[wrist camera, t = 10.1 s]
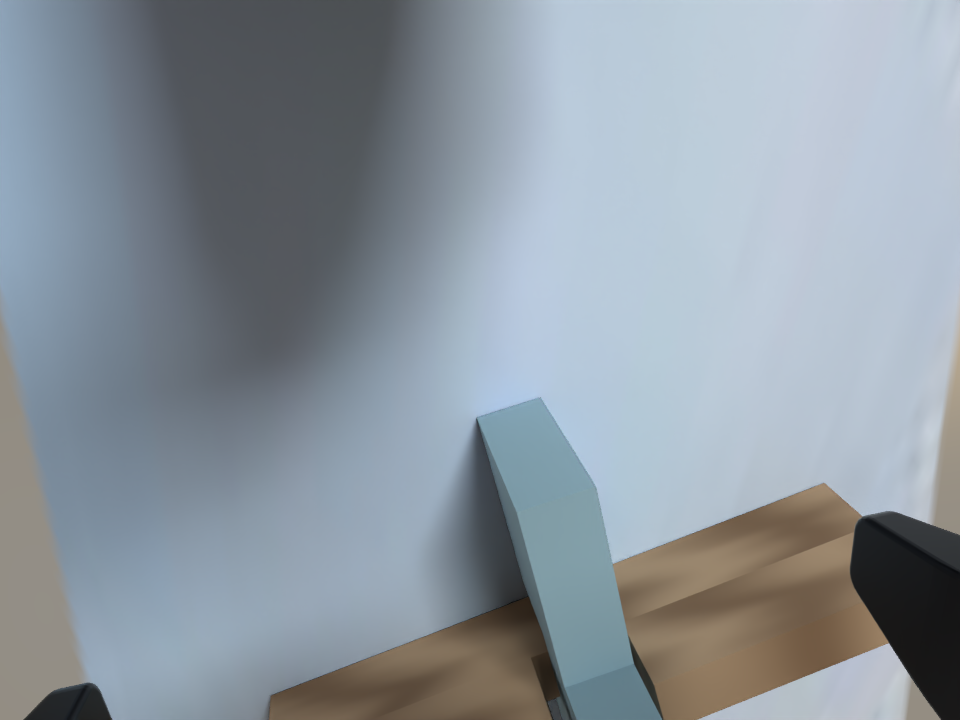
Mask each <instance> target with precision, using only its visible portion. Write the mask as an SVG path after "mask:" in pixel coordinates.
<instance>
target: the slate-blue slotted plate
mask: <svg viewBox="0 0 960 720" xmlns="http://www.w3.org/2000/svg"><path fill="white" fill-rule="evenodd" d="M477 420H478V423H479V427H480V430H481V434H482V437H483V441H484V445H485V448H486V452H487V455H488V459H489V462H490V466H491V469H492V473H493V476H494V480H495V483H496V487H497V491H498V494H499V498H500V501H501V505H502V508H503V512H504V515H505V519H506V522H507V526H508V529H509V533H510V536H511V540H512V544H513V547H514V551H515V554H516V558H517V561H518V565H519V568H520V572H521V575H522V579H523V582H524V585H525V588H526V590H527V593H528V596H529V598H530V601H531V604H532V606H533V609H534V612H535V614H536V617H537V619H538V622H539V625H540V627H541V630H542V633H543V635H544V639H545V642H546V646H547V650H548V653H549V657H550V660H551V664H552V667H553V671H554V675H555V678H556V682H557V685H558V689H559V693H560V697H557V698H556V699H557V703H558V706H559V710H560V713H561V717H562V720H662V718H661V716H660V714H659V712H658V710H657V708H656V706H655V704H654V702H653V700H652V698H651V697H650V695H649V693H648V691H647V689H646V687H645V685H644V683H643V681H642V679H641V677H640V675H639V673H638V671H637V669H636V667H635V665H634V662H633V657H632V652H631V648H630V643H629V638H628V634H627V629H626V624H625V620H624V615H623V611H622V606H621V601H620V597H619V592H618V587H617V583H616V578H615V573H614V569H613V564H612V559H611V555H610V550H609V545H608V541H607V536H606V531H605V527H604V522H603V517H602V513H601V508H600V503H599V499H598V494H597V489H596V486H595V484H594V483H593V481H592V479H591V478H590V476H589V474H588V473H587V471H586V470H585V468H584V466H583V465H582V463H581V462H580V460H579V458H578V457H577V455H576V454H575V452H574V450H573V449H572V447H571V446H570V444H569V442H568V441H567V439H566V437H565V436H564V434H563V433H562V431H561V429H560V428H559V426H558V425H557V423H556V421H555V420H554V418H553V417H552V415H551V413H550V412H549V410H548V409H547V407H546V405H545V404H544V402H543V400H542V399H541V397H540V398H537V399H534V400H531V401H528V402H524V403H521V404H518V405H515V406H512V407H509V408H505V409H502V410H499V411H496V412H493V413H490V414H487V415H483V416H480V417H477Z"/></svg>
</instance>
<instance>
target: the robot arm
mask: <svg viewBox="0 0 960 720" xmlns="http://www.w3.org/2000/svg"><path fill="white" fill-rule="evenodd" d="M850 577H851V581H852V584H853V586H854V588H855V590H856V592H857V594H858V595H859V597H860V598H861V600H862V601H863V603H864V605H865V606H866V608H867V609H868V611H869V612H870V614H871V616H872V617H873V619H874V620H875V622H876V623H877V625H878V626H879V628H880V630H881V631H882V633H883V634H884V636H885V637H886V639H887V641H888V642H889V644H890V645H891V647H892V648H893V650H894V651H895V653H896V655H897V656H898V658H899V659H900V661H901V662H902V664H903V665H904V667H905V669H906V670H907V672H908V673H909V675H910V676H911V678H912V680H913V681H914V683H915V684H916V685H917V687H918V688H919V690H920V691H921V693H922V694H923V696H924V697H925V698H926V700H927V701H928V703H929V704H930V705H931V707H932V708H933V709H934V711H935V712H936V713H937V715H938V716H939V718H940V719H941V720H960V535H958V534H955V533H952V532H950V531H947V530H944V529H941V528H938V527H936V526H933V525H930V524H927V523H925V522H922V521H919V520H916V519H913V518H911V517H908V516H905V515H902V514H900V513H897V512H892V511H886V512H881V513H876V514H871V515H867V516H863V517H861V518H860V519H859V520H858V521H857V523H856V524H855V529H854V537H853V545H852V553H851V561H850ZM24 720H112V718H111V716H110V713H109V711H108V708H107V706H106V704H105V701H104V699H103V696H102V694H101V692H100V690H99V688H98V687H97V686H96V685H95V684H93V683H83V684H79V685H75V686H69V687H66V688H60V689H57V690H55V691H53V692H51V693H50V694H49V695H48V696H46V697H45V698H44V699H43V700H42V702H40V703H39V704H38V705H37V707H35V709H34V710H33V711H32V712H31V713H30V714H29V715H28V716H27V717H26V718H25V719H24Z"/></svg>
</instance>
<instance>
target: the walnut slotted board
mask: <svg viewBox="0 0 960 720" xmlns="http://www.w3.org/2000/svg"><path fill="white" fill-rule="evenodd" d="M861 517H863V516H861V515H860V514H859V513H858V512H857V511H856V510H855V509H853V508H852V507H851V506H850V505H849V504H848V503H847V502H845V501H844V500H843V499H842V498H841V497H840V496H839V495H837V494H836V493H835V492H834V491H833V490H832V489H831V488H829V487H828V486H827V485H826V484H825V483H823V484H821V485H818V486H815V487H813V488H810V489H808V490H805V491H802V492H800V493H797V494H795V495H792V496H789V497H787V498H784V499H782V500H779V501H776V502H774V503H771V504H769V505H766V506H763V507H761V508H758V509H756V510H753V511H750V512H748V513H745V514H742V515H740V516H737V517H735V518H732V519H729V520H727V521H724V522H722V523H719V524H716V525H714V526H711V527H709V528H706V529H703V530H701V531H698V532H696V533H693V534H690V535H688V536H685V537H683V538H680V539H677V540H675V541H672V542H670V543H667V544H664V545H662V546H659V547H657V548H654V549H651V550H649V551H646V552H644V553H641V554H638V555H636V556H633V557H631V558H628V559H625V560H623V561H620V562H618V563H615V564H613V569H614V573H615V578H616V583H617V587H618V592H619V597H620V601H621V606H622V611H623V615H624V620H625V624H626V629H627V634H628V638H629V643H630V648H631V652H632V657H633V662H634V665H635V667H636V669H637V671H638V673H639V675H640V677H641V679H642V681H643V683H644V685H645V687H646V689H647V691H648V693H649V695H650V697H651V698H652V700H653V702H654V704H655V706H656V708H657V710H658V712H659V714H660V716H661V718H662V720H697V719H700V718H702V717H705V716H707V715H710V714H712V713H715V712H717V711H720V710H722V709H725V708H727V707H730V706H732V705H735V704H737V703H740V702H742V701H745V700H747V699H750V698H752V697H755V696H757V695H760V694H762V693H765V692H767V691H770V690H772V689H775V688H777V687H780V686H782V685H785V684H787V683H790V682H792V681H795V680H797V679H800V678H802V677H805V676H807V675H810V674H812V673H815V672H817V671H820V670H822V669H825V668H827V667H830V666H832V665H835V664H837V663H840V662H842V661H845V660H847V659H850V658H852V657H855V656H857V655H860V654H862V653H865V652H868V651H870V650H873V649H875V648H878V647H880V646H883V645H885V644H888V643H889V642H888V641H887V639H886V637H885V636H884V634H883V633H882V631H881V630H880V628H879V626H878V625H877V623H876V622H875V620H874V619H873V617H872V616H871V614H870V612H869V611H868V609H867V608H866V606H865V605H864V603H863V601H862V600H861V598H860V597H859V595H858V594H857V592H856V590H855V588H854V586H853V584H852V581H851V577H850V561H851V553H852V545H853V537H854V529H855V524H856V523H857V521H858V520H859V519H860V518H861ZM557 697H560V693H559V689H558V685H557V682H556V678H555V675H554V671H553V667H552V664H551V660H550V657H549V653H548V650H547V646H546V642H545V639H544V635H543V633H542V630H541V627H540V625H539V622H538V619H537V617H536V614H535V612H534V609H533V606H532V604H531V601H530V598H529V597H526V598H524V599H521V600H519V601H516V602H513V603H511V604H508V605H506V606H503V607H500V608H498V609H495V610H493V611H490V612H487V613H485V614H482V615H480V616H477V617H474V618H472V619H469V620H467V621H464V622H461V623H459V624H456V625H454V626H451V627H448V628H446V629H443V630H441V631H438V632H435V633H433V634H430V635H428V636H425V637H422V638H420V639H417V640H415V641H412V642H409V643H407V644H404V645H402V646H399V647H396V648H394V649H391V650H388V651H386V652H383V653H381V654H378V655H375V656H373V657H370V658H368V659H365V660H362V661H360V662H357V663H355V664H352V665H349V666H347V667H344V668H342V669H339V670H336V671H334V672H331V673H329V674H326V675H323V676H321V677H318V678H316V679H313V680H310V681H308V682H305V683H303V684H300V685H297V686H295V687H292V688H290V689H287V690H284V691H282V692H279V693H277V694H274V695H271V699H270V712H269V720H553V717H552V714H551V711H550V708H549V706H548V703H547V701H550V700H552V699H555V698H557Z"/></svg>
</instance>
